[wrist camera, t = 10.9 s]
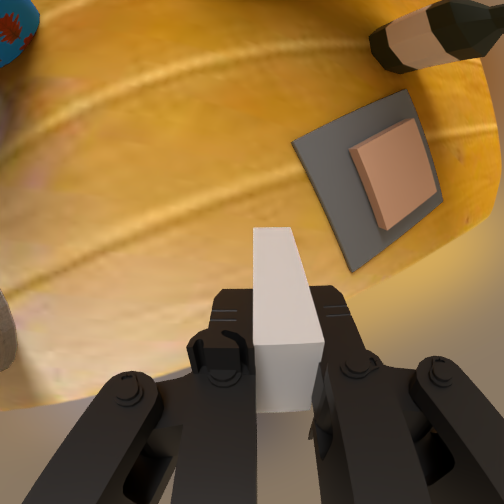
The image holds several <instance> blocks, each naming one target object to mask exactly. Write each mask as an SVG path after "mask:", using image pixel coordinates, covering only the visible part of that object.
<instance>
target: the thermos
mask: <svg viewBox="0 0 504 504" xmlns="http://www.w3.org/2000/svg"><path fill="white" fill-rule="evenodd" d="M39 16H40V14H39V12H38V10H37V9H36V7H35V6H34V5H33V3H32V2H31V0H0V68H1V67H3V66H5V65H7V64H9V63H10V62H11V61H13V60H14V59H15V58H16V57H18V56H19V55H20V54H21V52H22V51H23V50H24V49H25V48H26V47H27V46H28V44H29V43H30V41H31V39H32V38H33V36H34V35H35V33H36V30H37V27H38V25H39Z"/></svg>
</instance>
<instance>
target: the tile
mask: <svg viewBox="0 0 504 504" xmlns="http://www.w3.org/2000/svg"><path fill="white" fill-rule="evenodd" d="M348 150H349V152H350V154H351V157H352V159H353V161H354V164H355V166H356V168H357V171H358V173H359V176H360V178H361V181H362V183H363V186H364V188H365V191H366V193H367V196H368V199H369V201H370V204H371V207H372V210H373V212H374V215H375V218H376V221H377V224H378V227H379V228H382V229H385V230H389V229H390V228H391V227H393V226H394V225H395V224H397V223H398V222H399V221H400V220H402V219H403V218H404V217H406V216H407V215H408V214H410V213H411V212H412V211H413V210H415V209H416V208H417V207H418V206H420V205H421V204H422V203H424V202H425V201H426V200H427V199H429V198H430V197H431V196H432V195H433V194H435V193H436V192H437V190H436V186H435V182H434V178H433V174H432V171H431V167H430V164H429V161H428V157H427V154H426V151H425V148H424V145H423V142H422V139H421V136H420V133H419V130H418V127H417V125H416V122H415V119H414V118H410V119H404V120H402V121H400V122H398V123H396V124H394V125H392V126H391V127H389V128H387V129H385V130H383V131H381V132H379V133H377V134H375V135H374V136H372V137H370V138H368V139H366V140H364V141H362V142H361V143H359V144H357V145H355V146H353V147H351V148H350V149H348Z"/></svg>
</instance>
